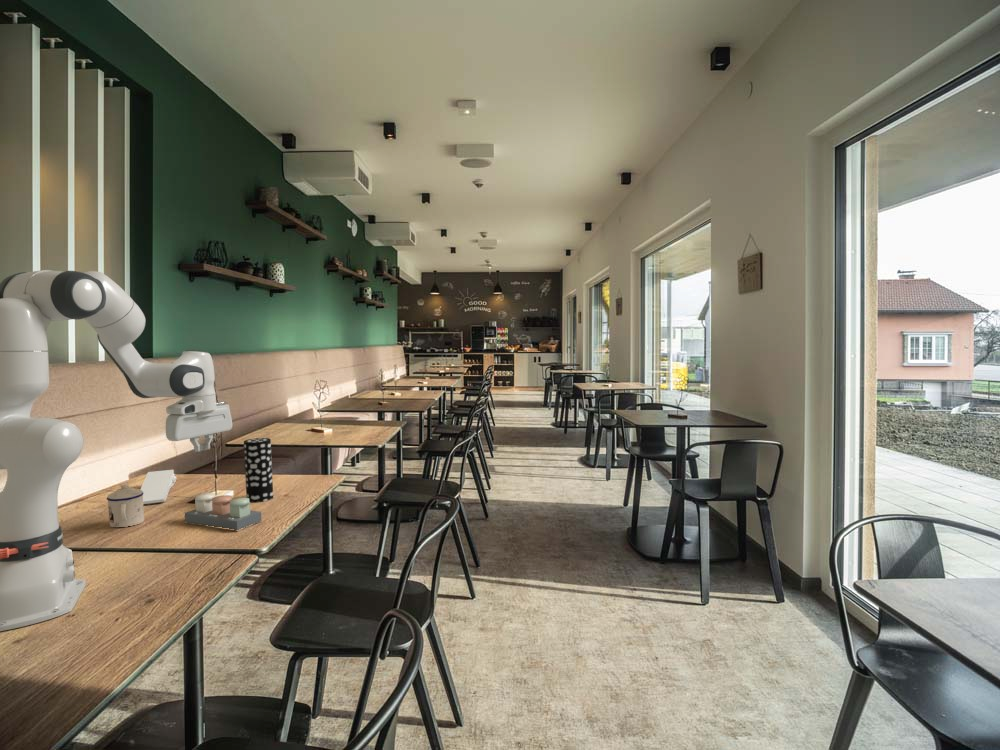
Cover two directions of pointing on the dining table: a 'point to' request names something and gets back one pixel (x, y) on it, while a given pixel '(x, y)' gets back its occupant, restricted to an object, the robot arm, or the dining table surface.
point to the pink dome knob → (221, 504)
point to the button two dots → (239, 507)
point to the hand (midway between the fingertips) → (202, 450)
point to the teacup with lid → (125, 507)
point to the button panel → (222, 519)
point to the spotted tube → (258, 469)
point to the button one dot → (204, 502)
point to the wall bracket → (157, 486)
